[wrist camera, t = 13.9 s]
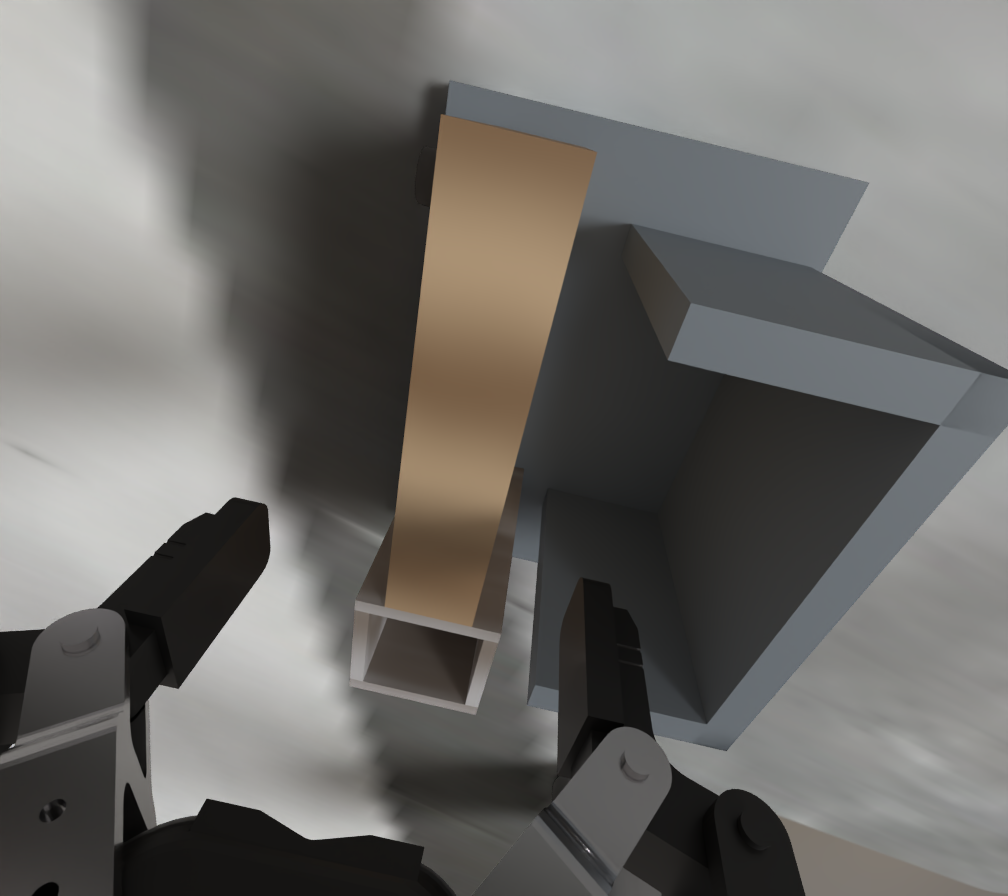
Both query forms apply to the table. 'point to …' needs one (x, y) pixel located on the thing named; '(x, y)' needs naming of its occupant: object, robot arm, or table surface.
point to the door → (468, 407)
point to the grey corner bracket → (723, 417)
